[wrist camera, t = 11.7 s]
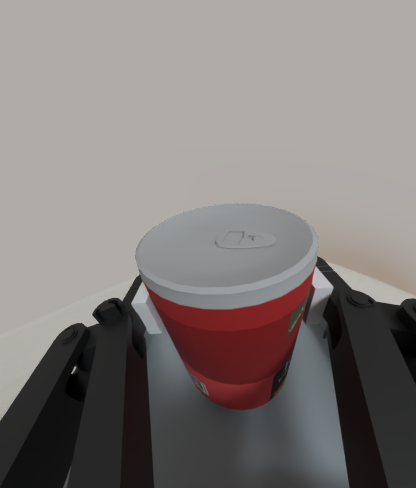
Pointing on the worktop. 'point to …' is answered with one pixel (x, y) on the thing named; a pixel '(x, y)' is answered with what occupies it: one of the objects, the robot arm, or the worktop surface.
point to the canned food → (231, 295)
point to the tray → (246, 425)
